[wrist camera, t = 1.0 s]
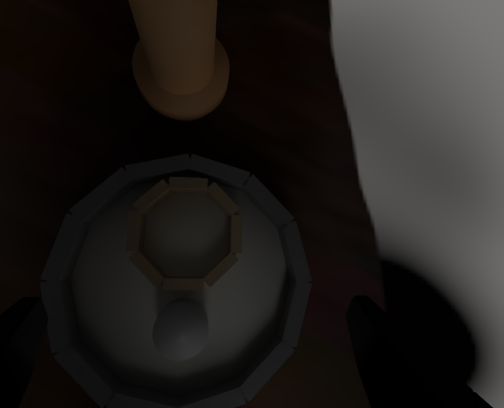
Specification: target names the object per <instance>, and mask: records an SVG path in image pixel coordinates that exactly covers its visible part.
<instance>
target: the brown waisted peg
mask: <svg viewBox="0 0 504 408" xmlns="http://www.w3.org/2000/svg"><path fill="white" fill-rule="evenodd" d="M128 1H129V4H130V7H131V11H132V14H133V17H134V20H135V24H136V27H137V30H138V34H139V37H140V40H139V42H138V43H137V45H136V47H135V49H134V53H133V57H132V69H133V74H134V77H135V80H136V82H137V85H138V87H139V90H140V92H141V94H142V96H143V98H144V99H145V101H146V102H147V103H148V104H149V105H150V106H151V107H152V108H153V109H154V110H156V111H157V112H159V113H160V114H162V115H164V116H167V117H169V118H173V119H175V120H177V121H181V122H192V121H196V120H198V119H200V118H202V117H203V116H205V115H207V114H209V113H210V112H212V111H213V110H214V109H215V108H216V107H217V106H218V105H219V104H220V103H221V101H222V100H223V98H224V96H225V93H226V90H227V85H228V78H229V60H228V56H227V53H226V51H225V49H224V47H223V46H222V44H221V43H220V41H219V40H218V39H217V38H216V37H215V33H216V13H217V0H128Z"/></svg>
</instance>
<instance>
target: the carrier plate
mask: <svg viewBox="0 0 504 408" xmlns="http://www.w3.org/2000/svg"><path fill="white" fill-rule="evenodd" d="M125 167H126V171H125V170H124V169H123V168H122V167H121V168H120V169H119V170H117V171H116V172H115V173H114V174H113V175H111V176H110V177H109V178H108V179H106V180H105V181H104V182H103V183H101V184H100V185H99V186H98V187H97V188H95V189H94V190H93V191H92V192H90V193H89V194H88V195H87V196H85V197H84V198H83V199H82V200H81V201H79V202H78V203H77V204H76V205H74V206H73V207H72V208H71V209H69V211H70V212H71V213H72V214H73V215H71V214H68V213H66V216H65V218H64V221H63V223H62V226H61V228H60V231H59V233H58V236H57V238H56V241H55V243H54V246H53V248H52V251H51V253H50V256H49V258H48V261H47V263H46V266H45V268H44V271H43V273H42V276H41V278H40V279H42V280H46V282H41V283H40V288H41V294H42V300H43V303H44V306H45V309H46V312H47V315H48V325H47V330H48V335H49V341H50V347H51V353H55V352H58V351H59V352H58V353H57V354H56V355H55V356H54V358H55V359H56V360H57V362H58V363H59V364H60V365H61V366H62V367H63V368H64V369H65V370H66V371H67V372H68V373H69V374H70V375H71V376H72V378H73V379H74V380H75V381H76V382H77V383H78V384H79V385H80V386H81V387H82V388H83V389H84V390H85V391H86V393H87V394H88V395H89V396H90V397H91V398H92V399H93V400H94V401H95V402H96V403H97V404H98V405H99V406H100V407H101V408H103V407H104V406H105V405H106V404H107V403H108V405H107V408H235V407H238V406H241V405H244V404H246V403H245V399H244V397H245V398H246V399H247V400H248V401H250V400H251V399H252V398H253V397H254V395H255V394H256V393H257V392H258V391H259V390H260V389H261V388H262V387H263V385H264V384H265V383H266V382H267V381H268V380H269V379H270V378H271V376H272V375H273V374H274V373H275V372H276V371H277V370H278V369H279V368H280V366H281V365H282V364H283V363H284V362H285V361H286V360H287V359H288V357H289V356H290V355H291V354H292V353H293V352H294V351H295V350H294V349H293V348H292V347H291V346H294V347H297V343H298V338H299V334H300V330H301V326H302V322H303V318H304V314H305V310H306V305H307V301H308V297H309V293H310V289H311V285H312V284H310V283H307V282H308V281H312V280H311V276H310V272H309V268H308V265H307V261H306V257H305V253H304V249H303V245H302V242H301V238H300V234H299V230H298V226H297V222H296V221H293V222H291V221H292V220H293V219H294V217H293V216H292V215H291V214H290V213H289V212H288V210H287V209H286V208H285V207H284V206H283V205H282V204H281V203H280V202H279V201H278V200H277V199H276V198H275V197H274V196H273V195H272V194H271V192H270V191H269V190H268V189H267V188H266V187H265V186H264V185H263V184H262V183H261V182H260V181H259V180H258V179H257V178H256V177H255V176H254V174H253V175H252V176H251V177H249V175H250V172H248V171H245V170H242V169H238V168H235V167H232V166H229V165H226V164H223V163H220V162H217V161H213V160H210V159H207V158H204V157H201V156H198V155H195V154H192V155H191V158H189V154H183V155H177V156H172V157H167V158H162V159H156V160H151V161H146V162H141V163H135V164H130V165H125Z"/></svg>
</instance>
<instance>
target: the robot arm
mask: <svg viewBox="0 0 504 408" xmlns="http://www.w3.org/2000/svg"><path fill="white" fill-rule="evenodd" d="M346 321H347V325H348V330H349V334H350V338H351V343H352V347H353V351H354V355H355V360H356V364H357V367H358V371H359V374H360V377H361V380H362V383H363V385H364V388H365V391H366V394H367V397H368V400H369V403H370V406H371V408H493V407H491V406H490V405H489V404H488V403H487V402H486V401H484V399H482V398H481V397H480V396H479V395H478V394H477V393H476V392H473V390H472V389H471V388H470V387H469V386H468V385H467V384H465V383H464V382H463V381H462V380H461V379H460V378H459V377H458V376H457V375H455V374H454V373H453V372H452V371H451V370H450V369H449V368H448V367H446V366H445V365H444V364H443V363H442V362H441V361H440V360H439V359H437V358H436V357H435V356H434V355H433V354H432V353H431V352H430V351H428V350H427V349H426V348H425V347H424V346H423V345H422V344H421V343H419V342H418V341H417V340H416V339H415V338H414V337H413V336H412V335H411V334H409V333H408V332H407V331H406V330H405V329H404V328H403V327H401V325H399V324H398V323H397V322H396V321H395V320H394V319H393V318H392V317H390V316H389V315H388V314H387V313H386V312H385V311H384V310H383V309H381V308H380V307H379V306H378V305H377V304H376V303H375V302H374V301H372V300H371V299H370V298H369V297H367V296H354V297H353V298H352V300H351V302H350V305H349V307H348V309H347V312H346ZM47 325H48V315H47V312H46V309H45V306H44V303H43V301H42V299H41V298H40V297H25V298H22V299H20V300H19V301H18V302H16V303H15V304H14V305H12V306H11V307H10V308H9V309H7V310H6V311H5V312H3V313H2V314H1V315H0V408H19V405H20V403H21V401H22V398H23V396H24V394H25V391H26V389H27V387H28V384H29V382H30V379H31V376H32V373H33V370H34V366H35V363H36V360H37V357H38V354H39V351H40V347H41V344H42V341H43V338H44V335H45V331H46V328H47Z"/></svg>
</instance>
